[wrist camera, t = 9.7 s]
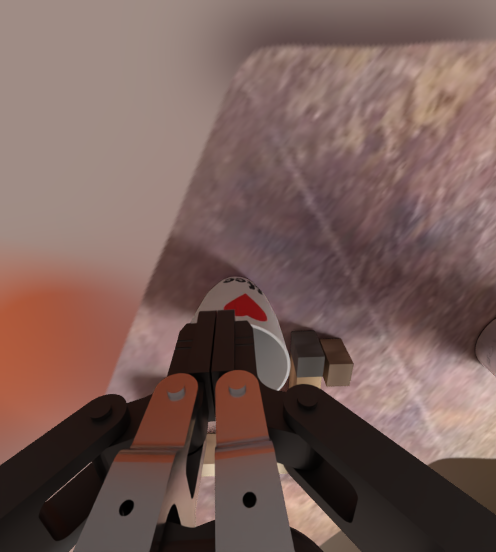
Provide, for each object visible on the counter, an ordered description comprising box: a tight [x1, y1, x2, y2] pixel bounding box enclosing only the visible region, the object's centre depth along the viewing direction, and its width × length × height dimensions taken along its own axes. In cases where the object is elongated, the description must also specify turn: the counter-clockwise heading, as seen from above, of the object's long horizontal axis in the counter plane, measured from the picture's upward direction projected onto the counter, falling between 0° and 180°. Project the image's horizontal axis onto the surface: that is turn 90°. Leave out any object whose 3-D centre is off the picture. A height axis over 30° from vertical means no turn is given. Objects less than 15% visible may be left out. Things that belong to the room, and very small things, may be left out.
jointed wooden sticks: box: [201, 339, 354, 476], centre depth 34 cm, size 21×18×4 cm
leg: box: [289, 331, 325, 388], centre depth 33 cm, size 3×16×5 cm, turn 1°
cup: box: [191, 277, 290, 391], centre depth 25 cm, size 8×8×10 cm
